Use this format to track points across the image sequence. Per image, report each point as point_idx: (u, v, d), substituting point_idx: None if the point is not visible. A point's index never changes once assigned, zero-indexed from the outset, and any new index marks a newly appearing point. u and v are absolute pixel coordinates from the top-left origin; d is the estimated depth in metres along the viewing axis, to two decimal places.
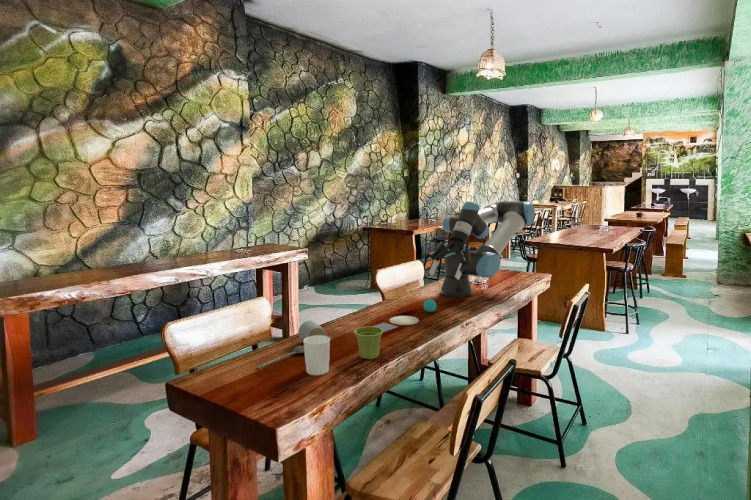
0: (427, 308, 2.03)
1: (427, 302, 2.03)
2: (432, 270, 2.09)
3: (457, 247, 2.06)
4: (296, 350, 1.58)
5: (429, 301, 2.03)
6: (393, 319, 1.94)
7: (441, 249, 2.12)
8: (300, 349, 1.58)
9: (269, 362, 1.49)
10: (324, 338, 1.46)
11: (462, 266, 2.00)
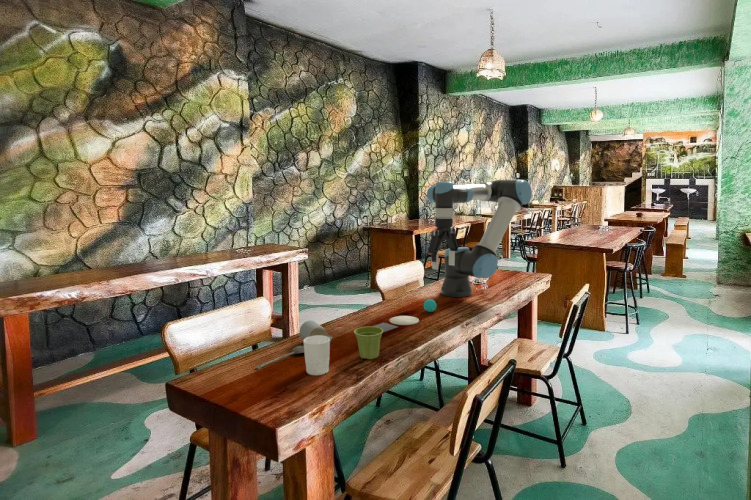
0: (427, 308, 2.03)
1: (427, 302, 2.03)
2: (450, 261, 2.14)
3: None
4: (295, 350, 1.58)
5: (429, 301, 2.03)
6: (393, 319, 1.94)
7: (451, 237, 2.12)
8: (299, 349, 1.58)
9: (268, 362, 1.49)
10: (324, 338, 1.46)
11: None
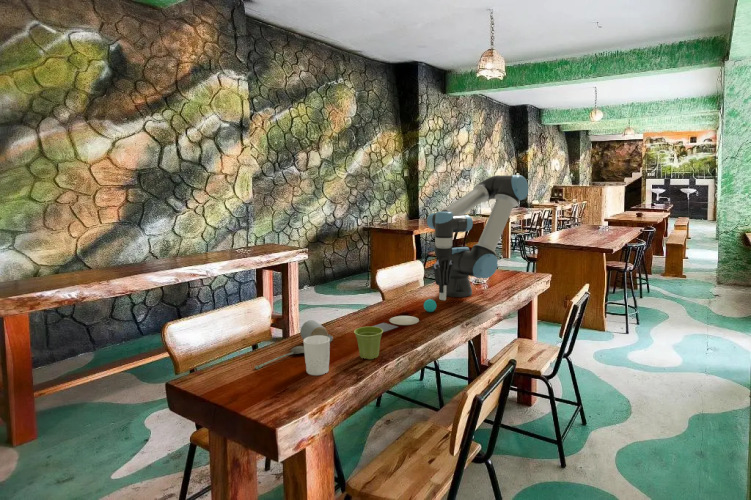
0: (427, 308, 2.03)
1: (427, 302, 2.03)
2: None
3: None
4: (294, 351, 1.57)
5: (429, 301, 2.03)
6: (393, 319, 1.94)
7: None
8: (298, 350, 1.57)
9: (266, 363, 1.49)
10: (324, 338, 1.46)
11: None
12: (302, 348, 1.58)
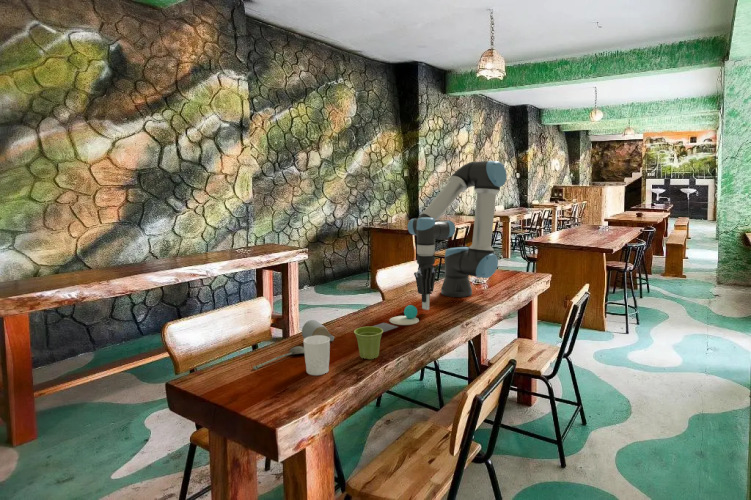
0: (411, 306, 1.95)
1: None
2: None
3: None
4: (292, 351, 1.57)
5: None
6: (393, 319, 1.94)
7: None
8: (296, 350, 1.57)
9: (265, 363, 1.49)
10: (324, 338, 1.46)
11: None
12: (301, 348, 1.58)
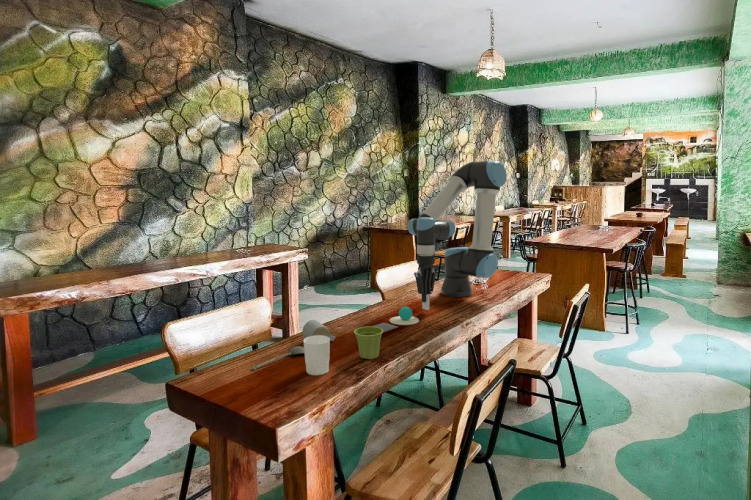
0: (402, 312, 1.92)
1: (404, 307, 1.93)
2: None
3: None
4: (292, 351, 1.57)
5: (407, 307, 1.93)
6: (393, 319, 1.94)
7: None
8: (296, 350, 1.57)
9: (264, 363, 1.48)
10: (324, 338, 1.46)
11: None
12: (300, 348, 1.58)
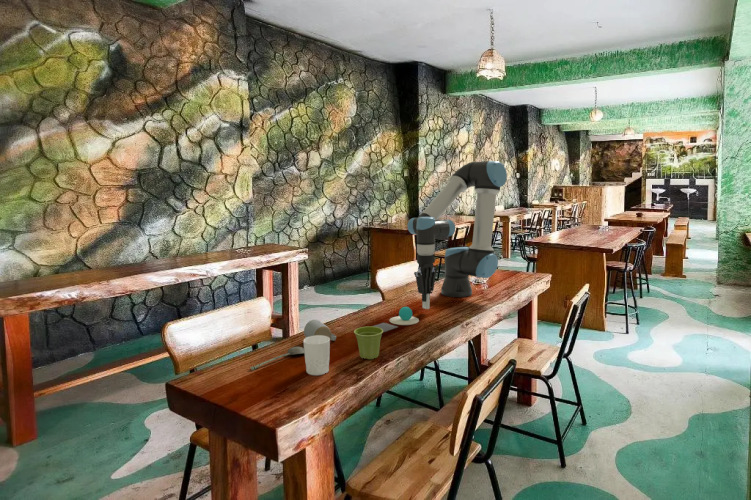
0: (402, 312, 1.92)
1: (404, 307, 1.93)
2: None
3: None
4: (290, 351, 1.57)
5: (407, 307, 1.93)
6: (393, 319, 1.94)
7: (431, 276, 2.04)
8: (294, 350, 1.57)
9: (262, 363, 1.48)
10: (324, 338, 1.46)
11: None
12: (298, 349, 1.58)
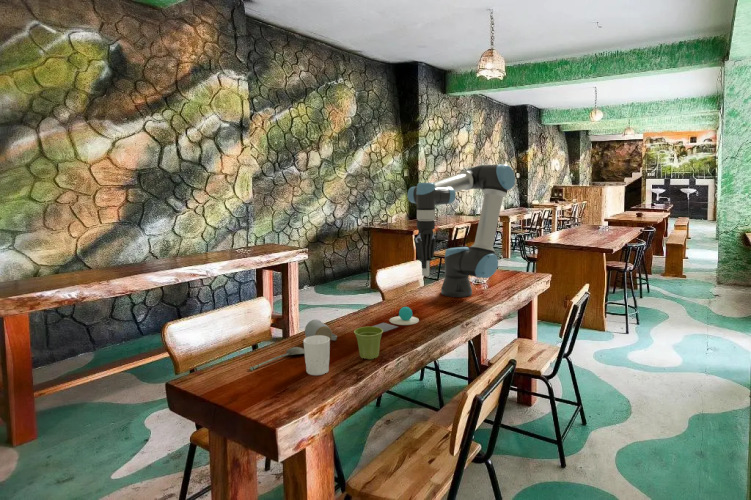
0: (402, 312, 1.92)
1: (404, 307, 1.93)
2: None
3: None
4: (289, 352, 1.56)
5: (407, 307, 1.93)
6: (393, 319, 1.94)
7: (431, 243, 2.02)
8: (293, 351, 1.56)
9: (261, 364, 1.48)
10: (324, 338, 1.46)
11: None
12: (298, 349, 1.57)
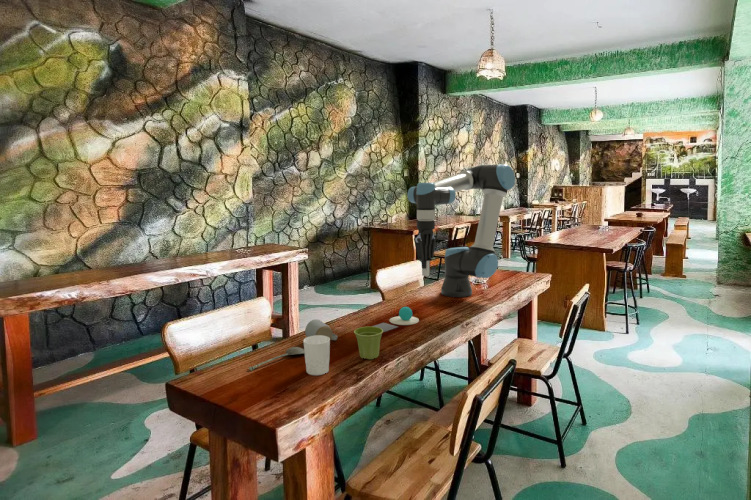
0: (402, 312, 1.92)
1: (404, 307, 1.93)
2: None
3: None
4: (288, 352, 1.56)
5: (407, 307, 1.93)
6: (393, 319, 1.94)
7: (431, 243, 2.02)
8: (293, 351, 1.56)
9: (260, 364, 1.48)
10: (324, 338, 1.46)
11: None
12: (297, 349, 1.57)
